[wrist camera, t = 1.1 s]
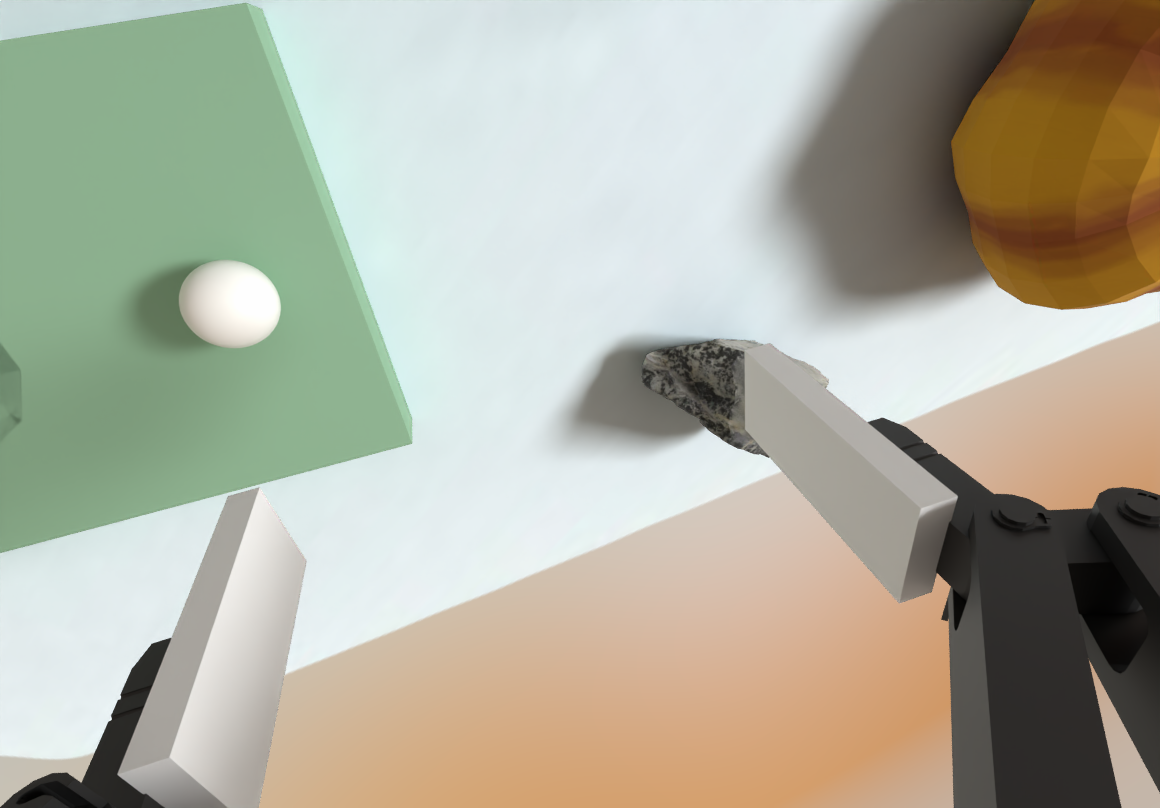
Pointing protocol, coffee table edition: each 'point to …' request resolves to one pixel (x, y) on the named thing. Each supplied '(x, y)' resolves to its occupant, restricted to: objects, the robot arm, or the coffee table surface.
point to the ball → (229, 304)
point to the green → (168, 277)
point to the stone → (710, 385)
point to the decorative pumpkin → (1069, 156)
